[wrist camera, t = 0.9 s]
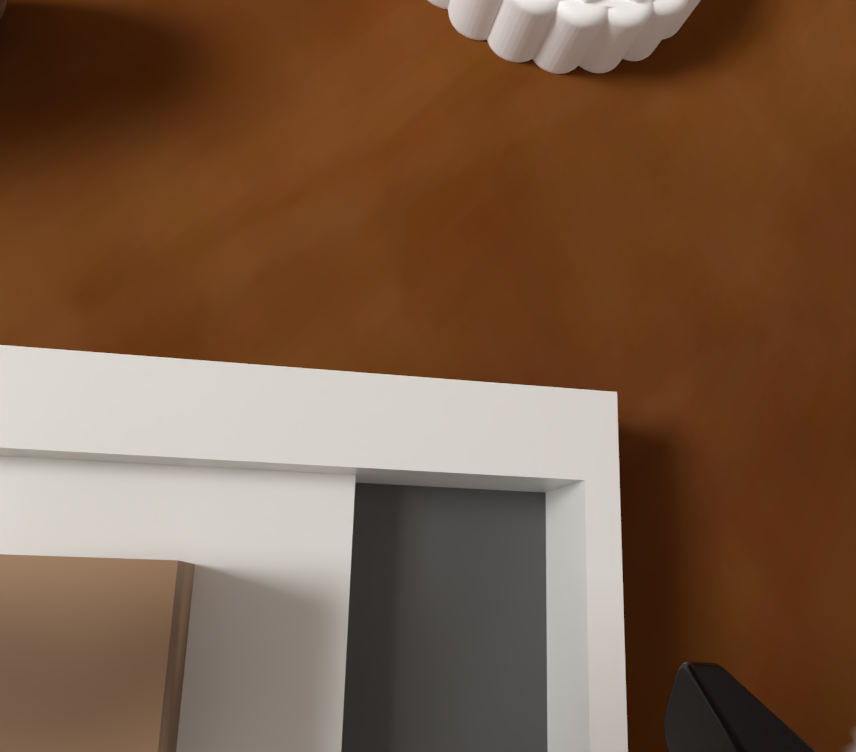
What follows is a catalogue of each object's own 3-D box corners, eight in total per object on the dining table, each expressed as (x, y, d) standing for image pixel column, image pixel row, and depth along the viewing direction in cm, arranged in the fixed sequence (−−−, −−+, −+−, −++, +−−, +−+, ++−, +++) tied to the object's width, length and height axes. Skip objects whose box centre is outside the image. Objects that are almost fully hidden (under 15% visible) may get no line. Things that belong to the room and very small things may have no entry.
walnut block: (173, 777, 19) (150, 825, 16) (-53, 779, 18) (-136, 831, 15) (194, 564, 21) (178, 560, 17) (-16, 556, 20) (-84, 551, 16)
